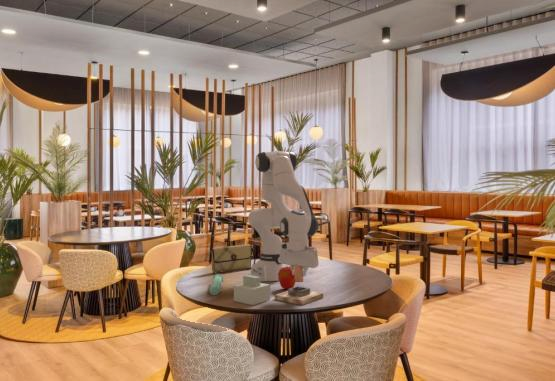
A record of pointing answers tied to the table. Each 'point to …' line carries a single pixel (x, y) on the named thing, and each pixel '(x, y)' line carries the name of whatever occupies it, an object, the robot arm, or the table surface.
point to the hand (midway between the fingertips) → (299, 275)
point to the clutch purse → (232, 258)
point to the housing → (251, 291)
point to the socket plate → (299, 295)
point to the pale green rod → (216, 284)
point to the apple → (286, 278)
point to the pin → (298, 273)
